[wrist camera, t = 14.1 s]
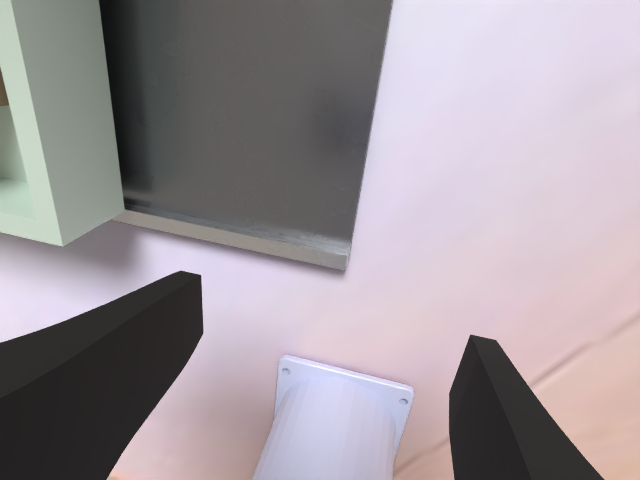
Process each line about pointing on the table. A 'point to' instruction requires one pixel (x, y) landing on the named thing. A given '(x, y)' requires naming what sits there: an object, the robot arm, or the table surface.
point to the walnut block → (3, 92)
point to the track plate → (245, 118)
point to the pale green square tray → (56, 122)
